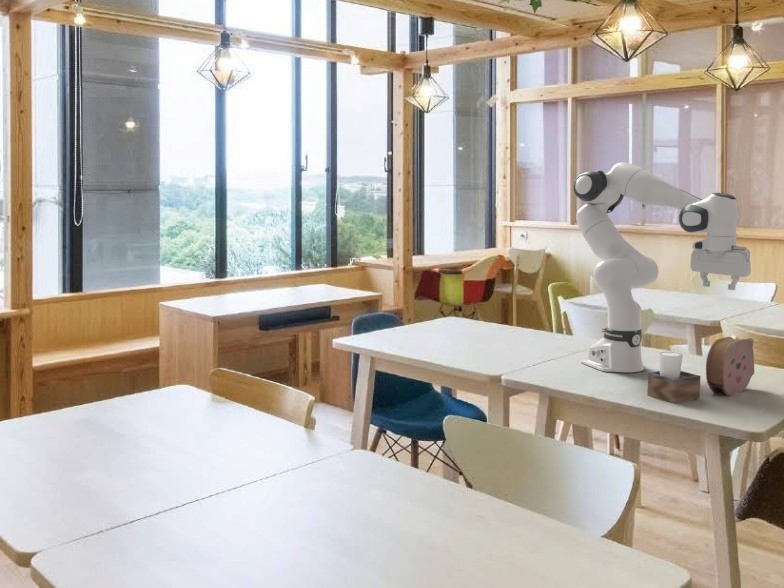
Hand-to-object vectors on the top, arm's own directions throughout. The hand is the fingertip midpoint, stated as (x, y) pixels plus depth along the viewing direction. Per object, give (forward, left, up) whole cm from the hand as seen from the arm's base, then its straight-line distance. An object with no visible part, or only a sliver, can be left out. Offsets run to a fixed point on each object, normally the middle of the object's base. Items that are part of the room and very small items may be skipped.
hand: (718, 288), depth 257 cm
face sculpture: (+9, -4, -31) cm, 33 cm away
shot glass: (+3, -24, -25) cm, 35 cm away
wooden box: (+4, -24, -31) cm, 39 cm away
